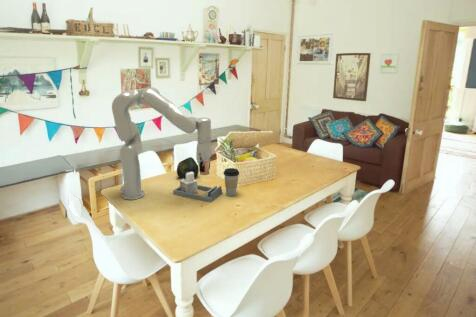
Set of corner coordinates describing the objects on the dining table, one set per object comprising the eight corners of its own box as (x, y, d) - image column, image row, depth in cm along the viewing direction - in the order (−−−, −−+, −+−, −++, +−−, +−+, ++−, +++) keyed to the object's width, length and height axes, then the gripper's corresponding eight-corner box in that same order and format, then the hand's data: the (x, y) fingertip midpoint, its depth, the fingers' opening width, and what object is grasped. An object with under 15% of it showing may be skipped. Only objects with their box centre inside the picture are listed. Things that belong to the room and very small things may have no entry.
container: (180, 191, 195) (179, 171, 191) (190, 188, 200) (190, 168, 196) (187, 195, 189) (186, 175, 186) (197, 192, 194) (197, 172, 190)
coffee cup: (229, 198, 187) (229, 174, 183) (220, 192, 194) (220, 169, 190) (242, 194, 192) (242, 171, 188) (232, 189, 200) (233, 166, 195)
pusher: (206, 200, 184) (206, 192, 182) (215, 193, 194) (215, 185, 192) (208, 200, 184) (208, 192, 182) (216, 193, 193) (217, 185, 192)
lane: (173, 194, 191) (172, 186, 189) (186, 186, 203) (185, 178, 202) (211, 202, 181) (211, 194, 180) (222, 193, 193) (222, 185, 192)
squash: (169, 169, 216) (179, 156, 208) (185, 164, 228) (195, 152, 220) (180, 186, 213) (191, 173, 204) (196, 180, 225) (207, 168, 216)
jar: (198, 174, 185) (197, 159, 182) (202, 171, 190) (202, 157, 187) (206, 175, 183) (206, 161, 180) (211, 172, 188) (210, 158, 185)
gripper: (205, 136, 189) (206, 165, 195) (190, 142, 174) (191, 173, 180) (217, 137, 186) (217, 166, 192) (202, 144, 171) (203, 175, 177)
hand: (204, 169), depth 186 cm, fingers closed on jar, 5 cm apart
